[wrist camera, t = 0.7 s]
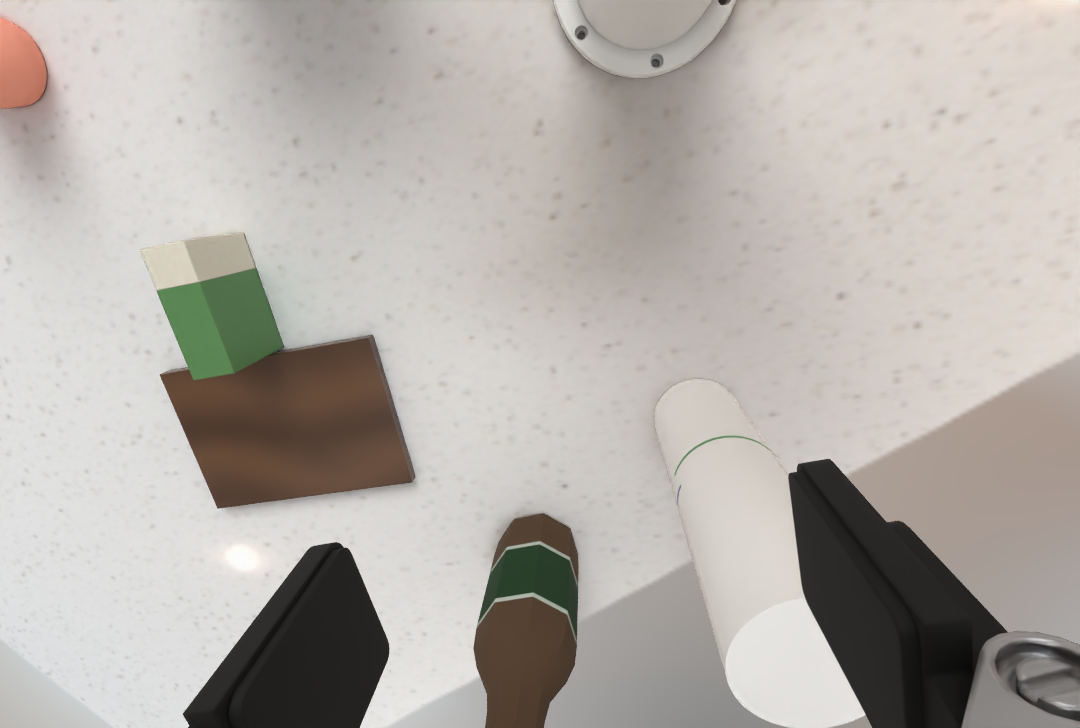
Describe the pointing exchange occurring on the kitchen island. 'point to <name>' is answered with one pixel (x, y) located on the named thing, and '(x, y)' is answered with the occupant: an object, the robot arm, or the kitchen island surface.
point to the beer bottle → (528, 622)
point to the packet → (214, 303)
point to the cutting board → (294, 424)
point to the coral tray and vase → (19, 67)
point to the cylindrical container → (749, 559)
